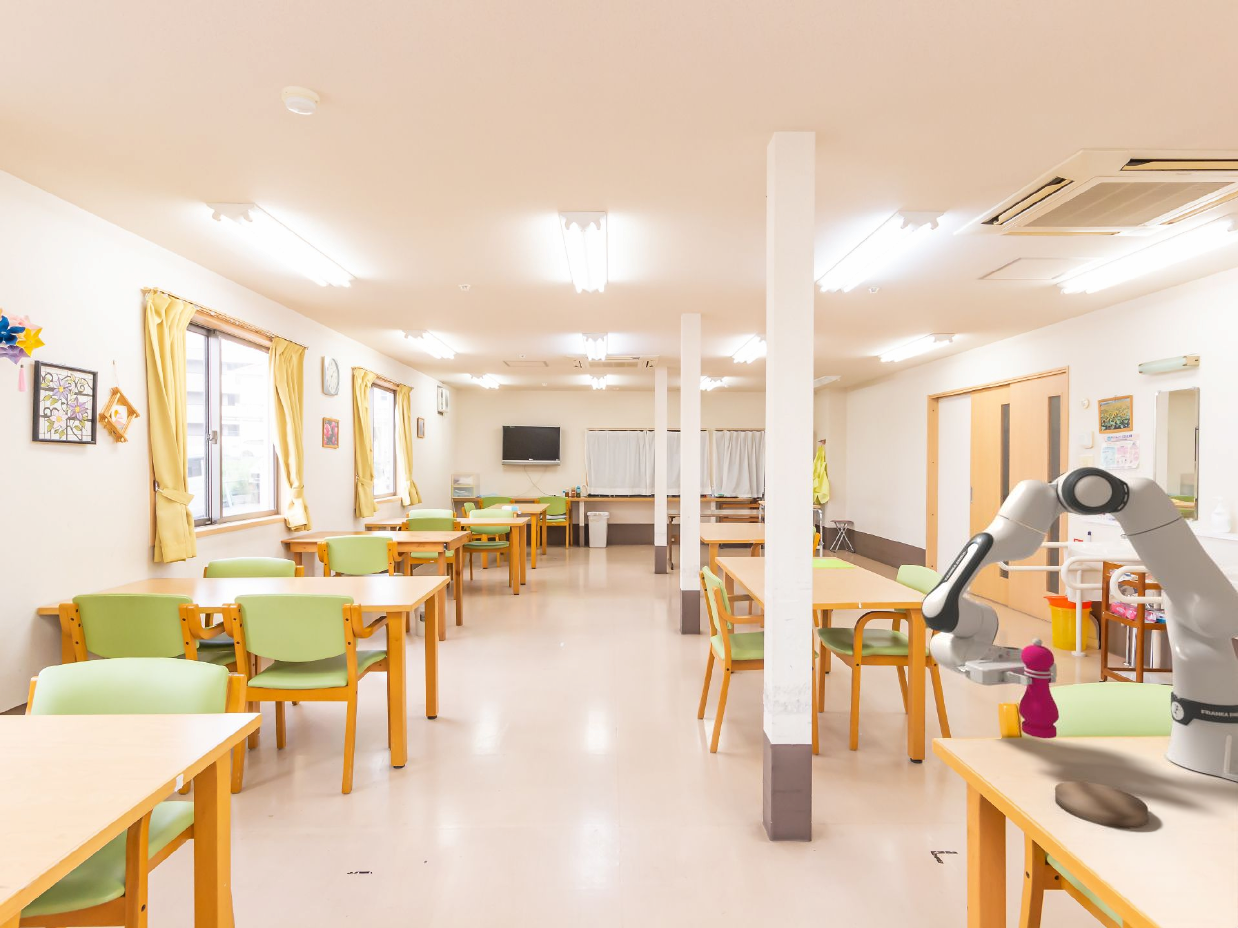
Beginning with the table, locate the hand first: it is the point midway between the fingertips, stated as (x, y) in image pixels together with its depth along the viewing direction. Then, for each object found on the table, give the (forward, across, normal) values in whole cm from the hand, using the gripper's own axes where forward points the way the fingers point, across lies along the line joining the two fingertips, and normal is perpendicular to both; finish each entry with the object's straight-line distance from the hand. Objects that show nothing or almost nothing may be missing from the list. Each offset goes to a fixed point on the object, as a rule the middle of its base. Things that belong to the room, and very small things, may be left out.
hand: (1041, 680), depth 143 cm
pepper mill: (-1, 0, +12) cm, 12 cm away
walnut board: (+16, -5, +19) cm, 25 cm away
